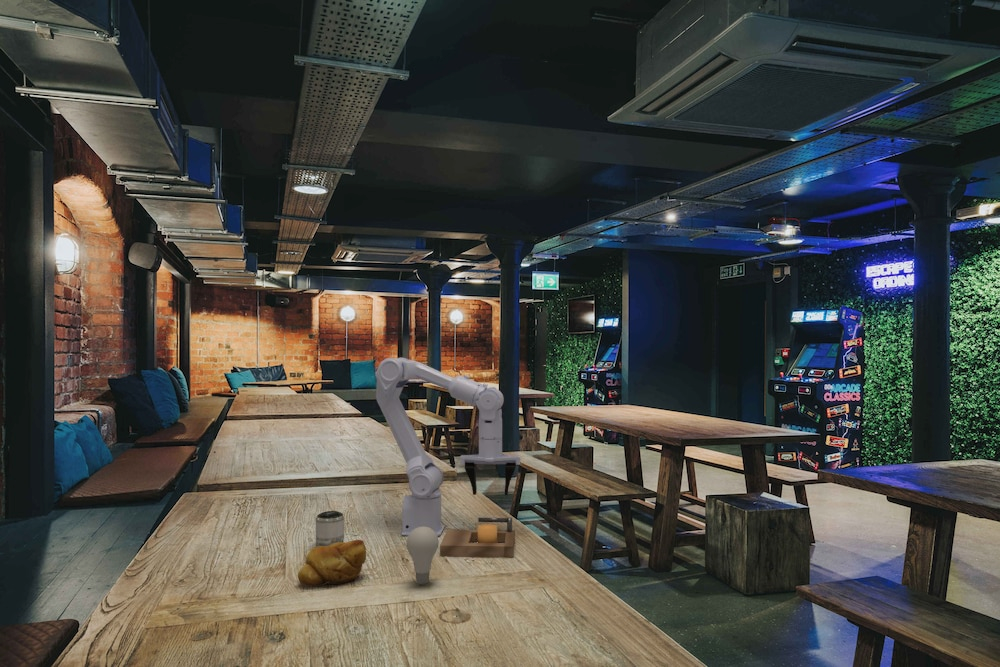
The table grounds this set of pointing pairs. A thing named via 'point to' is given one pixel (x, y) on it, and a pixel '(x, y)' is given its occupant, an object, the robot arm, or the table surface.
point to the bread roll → (333, 563)
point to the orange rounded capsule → (487, 533)
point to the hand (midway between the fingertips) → (490, 494)
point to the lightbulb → (422, 551)
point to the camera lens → (329, 528)
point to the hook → (508, 520)
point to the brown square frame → (476, 544)
